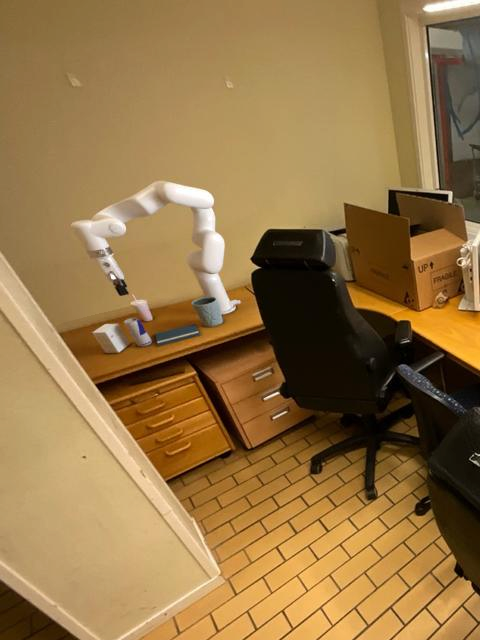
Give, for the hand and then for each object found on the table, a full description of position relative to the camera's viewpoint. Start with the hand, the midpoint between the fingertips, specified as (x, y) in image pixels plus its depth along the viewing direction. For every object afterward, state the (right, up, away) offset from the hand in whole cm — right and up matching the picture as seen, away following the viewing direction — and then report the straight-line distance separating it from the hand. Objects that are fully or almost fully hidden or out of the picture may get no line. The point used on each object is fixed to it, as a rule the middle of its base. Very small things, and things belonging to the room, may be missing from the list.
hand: (123, 291), depth 170 cm
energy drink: (+2, -23, +8) cm, 24 cm away
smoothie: (-14, -9, +27) cm, 32 cm away
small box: (-7, -25, +5) cm, 26 cm away
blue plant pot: (+21, -11, +26) cm, 35 cm away
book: (+11, -18, +15) cm, 26 cm away
